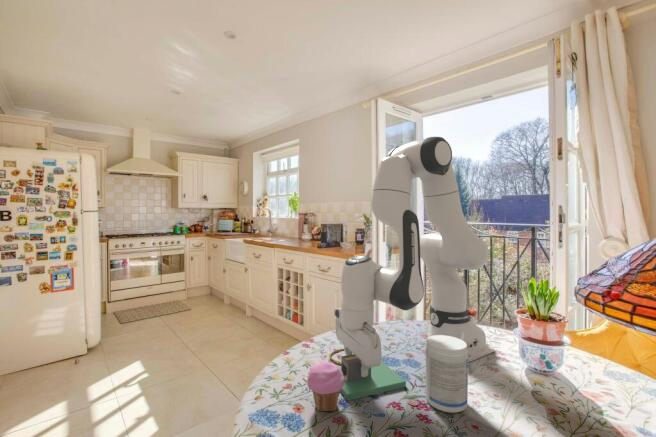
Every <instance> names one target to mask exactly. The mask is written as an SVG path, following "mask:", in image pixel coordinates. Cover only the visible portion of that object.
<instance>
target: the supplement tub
mask: <svg viewBox="0 0 656 437" xmlns="http://www.w3.org/2000/svg"><path fill="white" fill-rule="evenodd" d="M427 337H428V336H427ZM427 337H426V342H425V344H426V347H425V385H424V386H425V387H424V388H425V399H426V401H427V402H428V404H429V405H430V406H432V407H433V408H435V409H436V410H438V411H441V412H445V413H449V414H451V413H452V414H455V413H457V414H458V413H460V412H463V411H465V410H466V409H467V406H468V397H469V396H468V394H469V393H468V391H469V390H468V388H469V387H468V386H469V383H468V380H469V362H468V350H467V344H466V343H465V342H464V341H463V340H461V339H458V338H455V337H452V336H445V335H434V336H430V337H428V338H427Z"/></svg>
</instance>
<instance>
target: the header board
mask: <svg viewBox="0 0 656 437" xmlns="http://www.w3.org/2000/svg"><path fill="white" fill-rule="evenodd" d="M343 376H344V380H345V383H344V386H343V388H342V390H340V393H341V395H342V396H343V398H345V400H346V401H347V402H348V401H351V400H356V399H360V398H364V397H367V396H368V397H370V396H372V395H377V394H382V393H386V392H390V391H394V390H398V389H402V388H406V387H407V381H406V380H405V379H404V378H403V377H402V376H400V375H399V373H397V372H396V371H394V370H393V369H392V368H390V367H389V366H388V365H387V364H385V363H384V362H383V361H382V363H381V364H380V366H376V367H371V377H370V378H365V379H360V380H355V381H350V382H347V375H343Z"/></svg>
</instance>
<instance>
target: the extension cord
mask: <svg viewBox="0 0 656 437" xmlns="http://www.w3.org/2000/svg"><path fill="white" fill-rule="evenodd" d="M343 351H345V350H344V348H340V349H335V350H334V351H333V352H331V353H330V354H329V359H330V362H331V363H333V364H335V365H337V366H338V365H339V366H341V361H338V360H335V359H333V358H332V357H333V355H334V354H336V353H339V352H343Z"/></svg>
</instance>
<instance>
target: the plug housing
mask: <svg viewBox="0 0 656 437" xmlns="http://www.w3.org/2000/svg"><path fill="white" fill-rule="evenodd" d="M352 354H353V353H352ZM340 357H341V360H340V362H341V363H340V364H341V365H340V366H341V367H340V369H341V371H342V373H343V375H347V382H350V381H355V380H360V379H365V378H370V377H371V367H370V368H369V369H368V376H366V377H362V376H361V375H360V374H359V372H360V371H359V368H361V367H362V364H361V360H360V359H359V358H358V357H357V356H356V355H354V354H353V355H347V356H346V355H342V356H340Z"/></svg>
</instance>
